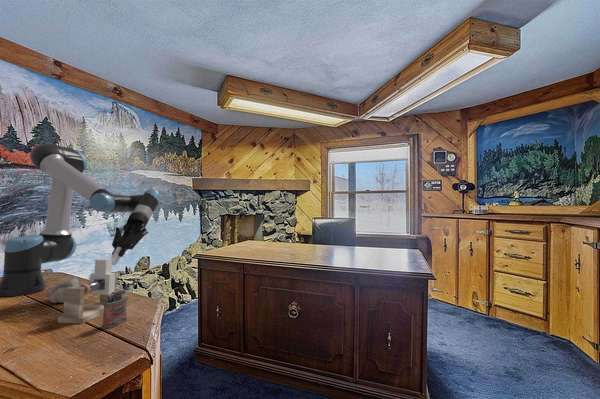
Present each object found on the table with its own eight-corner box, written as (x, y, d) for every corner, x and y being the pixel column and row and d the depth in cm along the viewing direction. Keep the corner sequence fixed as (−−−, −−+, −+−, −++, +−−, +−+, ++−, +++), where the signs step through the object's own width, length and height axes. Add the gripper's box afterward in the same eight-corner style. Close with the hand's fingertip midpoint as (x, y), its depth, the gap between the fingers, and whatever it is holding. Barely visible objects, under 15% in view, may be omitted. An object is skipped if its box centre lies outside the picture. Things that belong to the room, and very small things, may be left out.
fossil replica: (47, 307, 105) (81, 304, 113) (52, 284, 106) (85, 282, 113) (41, 298, 113) (73, 295, 120) (45, 276, 113) (77, 275, 121)
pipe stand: (99, 304, 109) (100, 275, 109) (120, 305, 109) (121, 276, 109) (57, 322, 91) (59, 288, 91) (82, 323, 91) (84, 288, 91)
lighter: (108, 330, 86) (110, 295, 86) (98, 328, 87) (100, 294, 87) (129, 320, 94) (130, 288, 94) (120, 319, 95) (121, 288, 95)
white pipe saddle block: (95, 291, 106) (97, 258, 107) (114, 292, 106) (115, 258, 106) (89, 294, 103) (91, 259, 104) (108, 294, 103) (110, 260, 103)
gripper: (157, 223, 129) (133, 269, 112) (128, 223, 130) (100, 268, 112) (151, 211, 124) (125, 257, 107) (121, 211, 124) (90, 256, 107)
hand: (112, 262), depth 109 cm, fingers closed
